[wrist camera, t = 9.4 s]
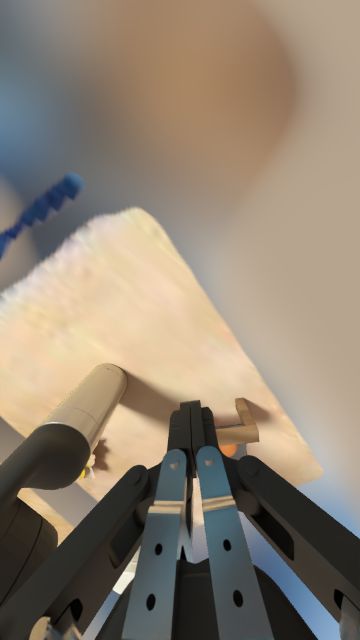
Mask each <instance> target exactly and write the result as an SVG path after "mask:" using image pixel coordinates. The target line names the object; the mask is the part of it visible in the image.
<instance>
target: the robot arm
mask: <svg viewBox="0 0 360 640" xmlns="http://www.w3.org/2000/svg"><path fill="white" fill-rule="evenodd" d="M126 387H127V378H126V375H125V373H124V372H123V371H122V370H121V369H120V368H118V367H117V366H115V365H111V364H102V365H99V366H97V367H96V368H95V369H93V370H92V372H91V373H90V374H89V375H88V376H87V377H86V378H85V379H84V380H83V381H82V382H81V383H80V384H79V385H78V386H77V387H76V388H75V389H74V390H73V391H72V392H71V393H70V394H69V395H68V396H67V397H66V398H65V399H64V400H63V401H62V402H61V403H60V404H59V405H58V406H57V408H56V409H55V410H54V411H53V412H52V413H51V414H50V415H49V416H48V417H47V418H46V419H45V420H44V421H43V422H42V423H41V424H40V425H39V426H38V427H37V428H36V429H35V430H34V431H33V432H32V434H31V435H30V436H29V437H28V438H27V439H26V440H25V441H24V442H23V443H22V444H21V445H20V446H19V447H18V448H17V449H16V450H15V451H14V452H13V453H12V454H11V455H10V456H9V457H8V458H7V459H6V460H5V461H4V462H3V463H2V464H1V465H0V640H81V637H82V635H83V634H84V632H85V631H86V629H87V628H88V626H89V625H90V623H91V622H92V620H93V618H94V617H95V615H96V613H97V612H98V611H99V609H100V608H101V606H102V605H103V603H104V601H105V600H106V598H107V596H108V595H109V594H110V592H111V591H112V589H113V588H114V586H115V584H116V583H117V581H118V580H119V578H120V577H121V575H122V574H123V572H124V571H125V569H126V567H127V566H128V564H129V563H130V561H131V560H132V558H133V557H134V555H135V553H136V552H137V550H138V549H139V547H140V546H141V547H140V552H139V557H138V561H137V566H136V571H135V576H134V578H133V579H132V580H131V581H130V583H129V584H128V585H127V586H126V588H125V589H124V591H123V592H122V594H121V595H120V597H119V599H118V600H117V602H116V604H115V606H114V607H113V609H112V611H111V612H110V614H109V616H108V617H107V619H106V621H105V623H104V624H103V626H102V628H101V630H100V631H99V633H98V635H97V636H96V638H95V640H318V639H317V637H316V636H315V635H314V633H312V631H311V629H310V628H309V627H308V625H307V624H306V623H305V621H304V620H303V619H302V617H301V616H300V615H299V613H298V612H297V610H296V609H295V608H294V606H293V605H292V604H291V603H290V601H289V600H288V598H287V597H286V596H285V594H284V593H283V592H282V590H281V589H280V588H279V586H278V585H277V584H276V583H275V582H274V581H273V580H272V579H271V578H270V577H269V576H268V575H267V574H266V573H265V572H264V571H262V570H261V569H259V568H258V567H257V566H255V565H253V563H252V559H251V556H250V552H249V549H248V545H247V542H246V538H245V535H244V531H243V528H242V524H241V521H240V517H239V513H238V511H241V512H243V513H244V514H245V516H246V518H247V519H248V520H249V521H250V522H251V523H252V525H253V526H254V527H255V528H256V529H257V530H258V531H259V533H260V534H261V535H262V536H263V537H264V538H265V539H266V541H267V542H268V543H269V544H270V545H271V546H272V548H273V549H274V550H275V551H276V552H277V553H278V554H279V555H280V557H281V558H282V559H283V560H284V561H285V562H286V564H287V565H288V566H289V567H290V568H291V569H292V570H293V572H294V573H295V574H296V575H297V576H298V577H299V578H300V580H301V581H302V582H303V583H304V584H305V585H306V586H307V588H308V589H309V590H310V591H311V592H312V593H313V595H314V596H315V597H316V598H317V599H318V600H319V601H320V602H321V604H322V605H323V606H324V607H325V608H326V609H327V611H328V612H329V613H330V614H331V615H332V616H333V617H334V619H335V620H336V621H337V622H338V623H339V631H340V637H341V640H360V539H359V538H358V537H357V536H355V535H354V534H353V533H352V532H350V531H349V530H348V529H346V528H345V527H344V526H343V525H341V524H340V523H339V522H338V521H336V520H335V519H334V518H333V517H331V516H330V515H329V514H327V513H326V512H325V511H324V510H322V509H321V508H320V507H319V506H317V505H316V504H315V503H314V502H312V501H311V500H310V499H309V498H307V497H306V496H305V495H303V494H302V493H301V492H299V490H297V489H296V488H295V487H293V486H292V485H291V484H290V483H288V482H287V481H286V480H285V479H283V478H282V477H281V476H280V475H278V474H277V473H276V472H275V471H273V470H272V469H271V468H269V467H268V466H267V465H266V464H264V463H263V462H262V461H261V460H259V459H258V458H256V457H254V456H251V455H246V456H243V457H241V458H240V459H239V460H236V459H232V458H229V457H227V456H226V455H224V454H223V453H222V452H221V450H220V448H219V445H218V440H217V435H216V430H215V425H214V420H213V414H212V411H211V410H210V409H209V407H203V408H201V403H200V400H197V401H188V402H180V410H177V411H174V412H173V413H172V415H171V417H170V427H169V437H168V446H167V453H166V454H165V456H164V457H163V460H162V462H160V463H159V464H158V465H156V466H154V467H152V468H150V469H148V470H147V468H146V467H145V466H143V465H136V466H134V467H132V468H131V469H129V470H128V471H127V472H126V474H125V475H124V476H123V477H122V478H121V479H120V480H119V481H118V482H117V483H116V484H115V485H114V487H113V488H112V489H111V490H110V491H109V492H108V493H107V494H106V495H105V496H104V497H103V498H102V500H101V501H100V502H99V503H98V504H97V505H96V506H95V507H94V508H93V509H92V511H90V513H89V514H88V515H87V516H86V517H85V518H84V519H83V520H82V521H81V522H80V524H79V525H78V526H77V527H76V528H75V529H74V530H73V531H72V532H71V533H70V534H69V535H68V536H67V538H66V539H65V540H64V541H63V542H62V543H61V544H60V545H59V546H58V547H57V545H58V533H57V531H56V529H55V528H54V526H52V525H51V524H50V523H49V522H48V521H47V520H46V519H44V518H43V517H42V516H41V515H40V514H38V513H37V512H36V511H35V510H33V509H32V508H31V507H30V506H28V505H27V504H26V503H25V502H23V501H22V500H21V499H19V498H18V497H17V494H18V492H19V491H20V489H21V488H37V489H44V490H56V489H61V488H65V487H67V486H69V485H71V484H72V483H74V482H75V481H76V480H77V479H78V478H79V476H80V475H81V473H82V472H83V470H84V468H85V466H86V464H87V462H88V460H89V458H90V456H91V454H92V452H93V451H94V449H95V447H96V445H97V443H98V441H99V439H100V437H101V435H102V433H103V431H104V429H105V427H106V425H107V424H108V422H109V420H110V418H111V416H112V414H113V412H114V410H115V408H116V406H117V404H118V403H119V401H120V399H121V397H122V395H123V393H124V391H125V389H126ZM190 404H191V405H190ZM196 470H197V471H196ZM197 475H198V478H199V483H200V491H201V498H202V509H203V517H204V524H205V532H206V540H207V547H208V555H209V558H207V559H205V560H203V561H201V562H199V563H197V564H194V562H193V545H192V538H193V536H192V535H193V478H197Z"/></svg>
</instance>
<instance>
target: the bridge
mask: <svg viewBox="0 0 360 640" xmlns="http://www.w3.org/2000/svg"><path fill="white" fill-rule="evenodd" d="M235 402H236V409H237V412H238V415H239V417H240V420H241V423H242V425H243V426H242V427H233V428H225V429H216V435H217V440H218V445H219V446H226V445H235V444H244V443H253V442H259V431H258V428H257V426H256V424H255V422H254V420H253V417H252V415H251V413H250V411H249V409H248V407H247V405H246V403H245V400H244V398H238V399H235Z"/></svg>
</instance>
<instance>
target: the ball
mask: <svg viewBox="0 0 360 640" xmlns="http://www.w3.org/2000/svg"><path fill="white" fill-rule="evenodd" d="M219 448H220V450H221V452H222V453H223V454H224V455H226V456H227V457H231V456H233V455H234V454H235V453H236V451H237V444H235V445H226V446H219Z"/></svg>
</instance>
